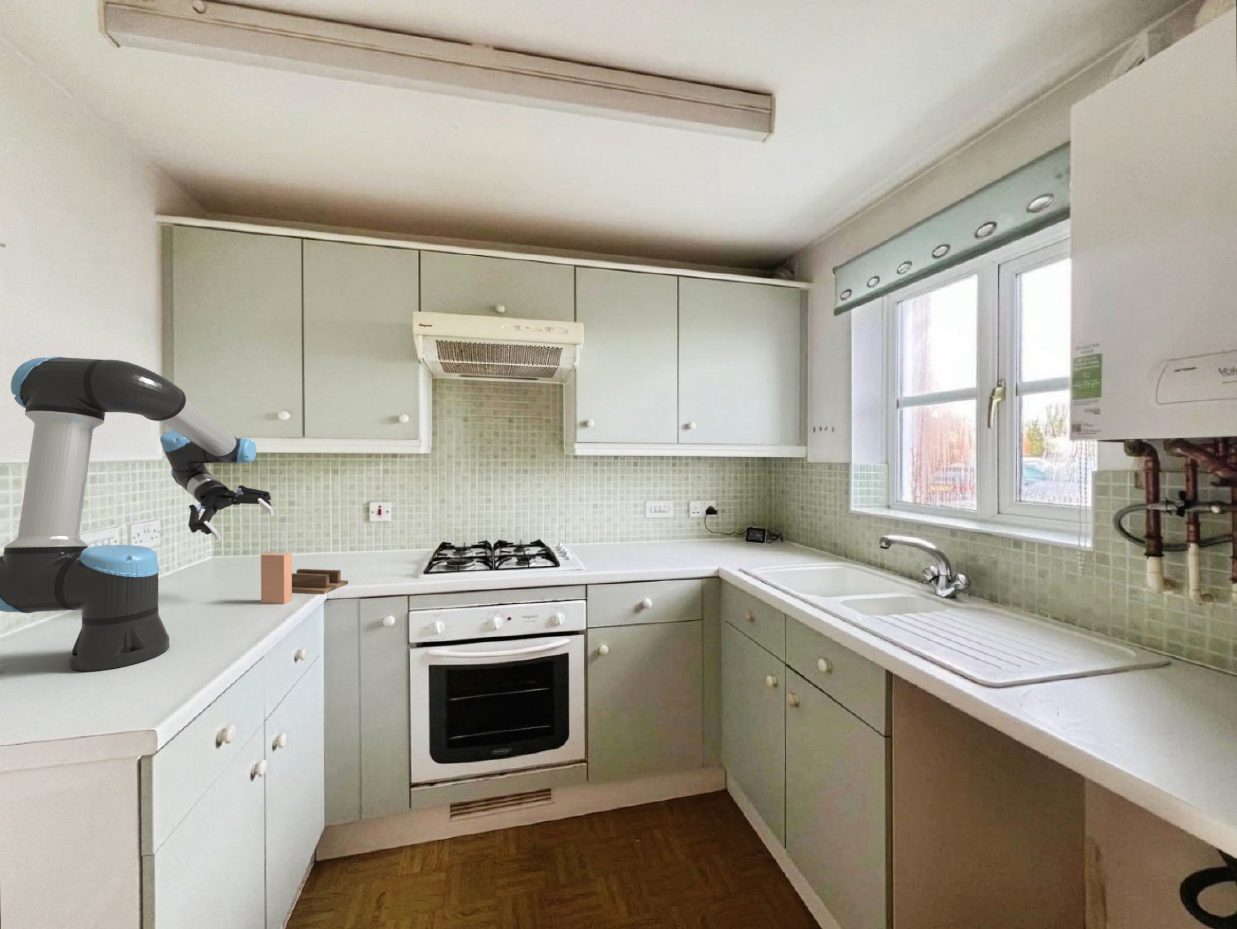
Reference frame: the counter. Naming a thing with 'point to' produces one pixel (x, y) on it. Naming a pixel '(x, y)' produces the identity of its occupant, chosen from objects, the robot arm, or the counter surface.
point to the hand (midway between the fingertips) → (246, 523)
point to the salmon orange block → (276, 578)
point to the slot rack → (316, 581)
